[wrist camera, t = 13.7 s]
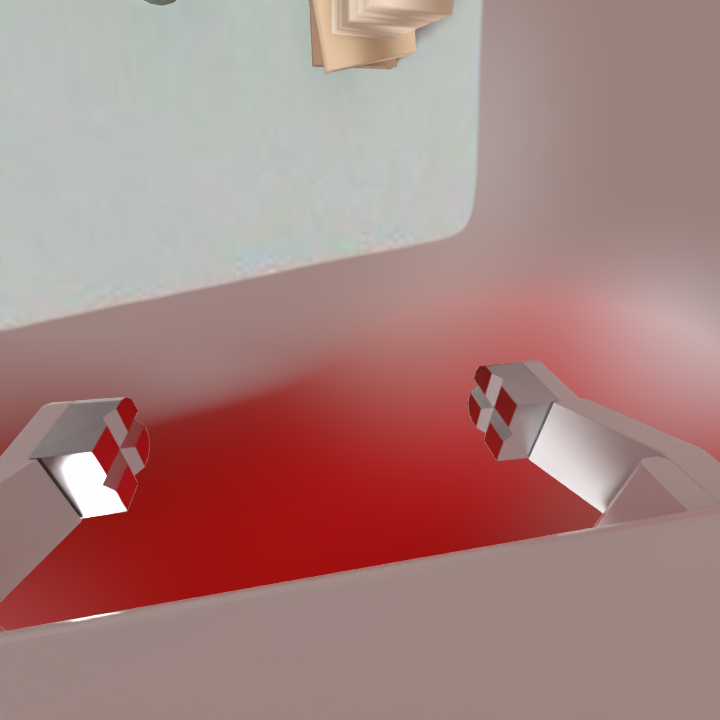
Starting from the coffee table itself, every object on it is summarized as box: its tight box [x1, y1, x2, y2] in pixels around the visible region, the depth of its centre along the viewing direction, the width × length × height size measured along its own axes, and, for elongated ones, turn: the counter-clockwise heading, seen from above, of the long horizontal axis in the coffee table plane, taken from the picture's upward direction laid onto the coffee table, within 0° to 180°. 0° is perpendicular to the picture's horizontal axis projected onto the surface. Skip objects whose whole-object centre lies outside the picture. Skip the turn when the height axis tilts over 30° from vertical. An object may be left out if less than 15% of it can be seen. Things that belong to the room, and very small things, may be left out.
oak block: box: [312, 0, 416, 74], centre depth 27 cm, size 7×7×3 cm
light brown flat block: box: [309, 0, 397, 69], centre depth 29 cm, size 7×7×3 cm
